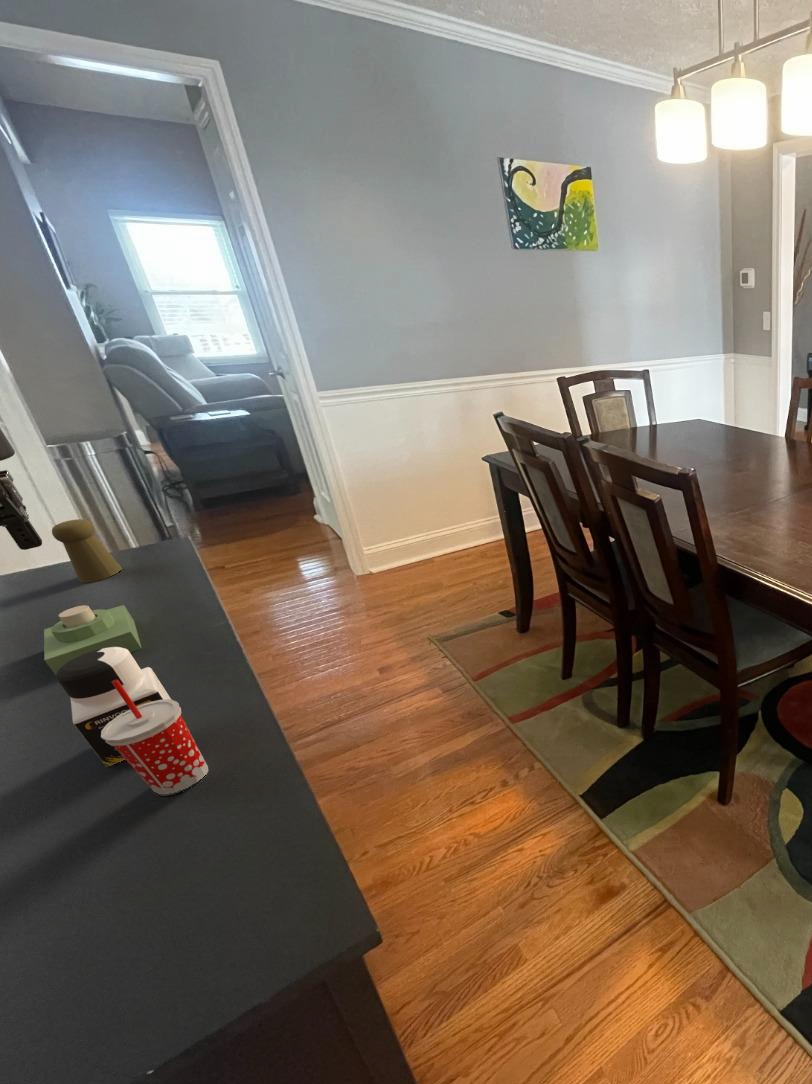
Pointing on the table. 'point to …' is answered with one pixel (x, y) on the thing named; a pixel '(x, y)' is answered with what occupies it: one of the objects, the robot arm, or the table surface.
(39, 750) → the table surface
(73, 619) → the beige button cap
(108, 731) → the beverage cup
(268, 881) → the table surface
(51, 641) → the green push button box
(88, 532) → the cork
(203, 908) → the table surface
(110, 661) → the medicine bottle
